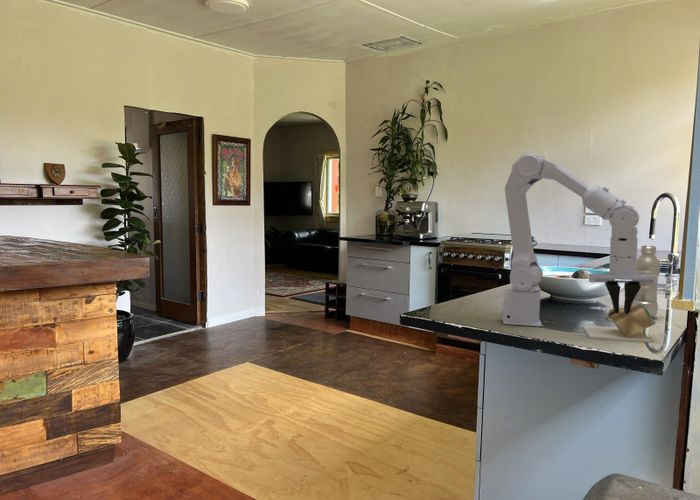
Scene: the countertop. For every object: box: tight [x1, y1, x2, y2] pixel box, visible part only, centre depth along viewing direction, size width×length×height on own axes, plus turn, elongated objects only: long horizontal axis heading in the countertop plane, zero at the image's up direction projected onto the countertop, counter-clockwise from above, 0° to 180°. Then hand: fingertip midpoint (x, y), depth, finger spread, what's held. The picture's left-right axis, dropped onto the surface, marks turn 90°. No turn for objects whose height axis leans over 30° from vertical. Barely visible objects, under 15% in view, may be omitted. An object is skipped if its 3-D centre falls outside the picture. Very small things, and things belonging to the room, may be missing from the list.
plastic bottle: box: [632, 245, 662, 318], centre depth 144 cm, size 6×7×20 cm
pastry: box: [604, 307, 624, 323], centre depth 141 cm, size 9×7×4 cm
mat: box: [581, 324, 652, 344], centre depth 126 cm, size 13×11×1 cm
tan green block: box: [610, 302, 656, 338], centre depth 124 cm, size 4×8×7 cm
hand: (621, 312), depth 125 cm, fingers closed
